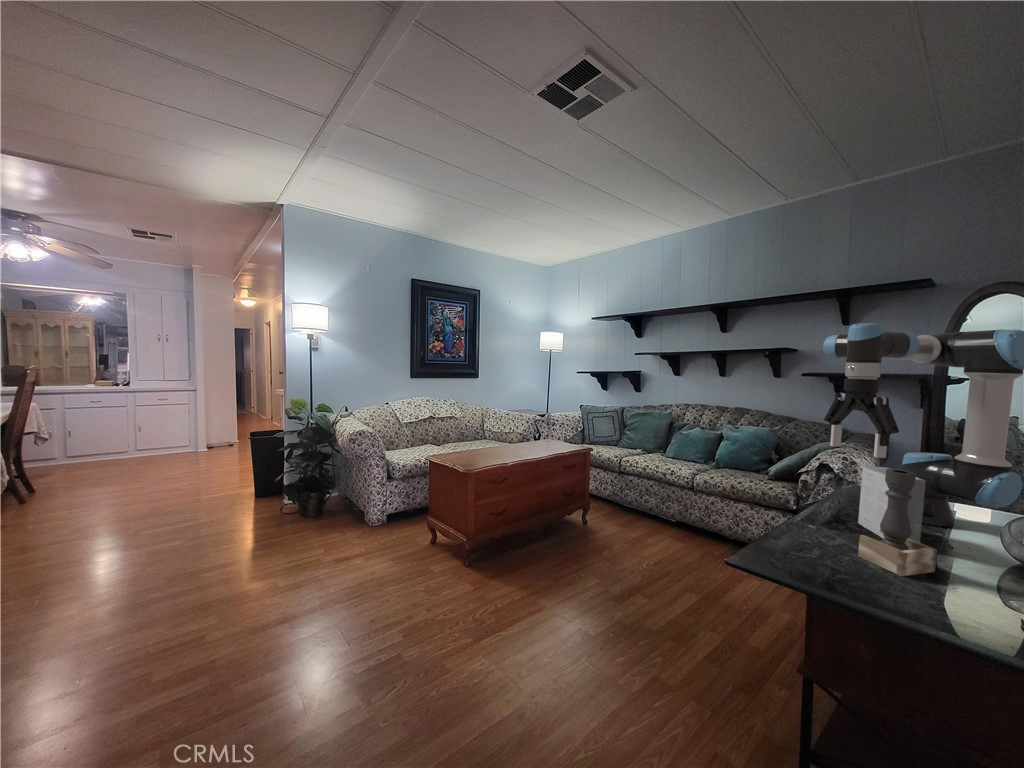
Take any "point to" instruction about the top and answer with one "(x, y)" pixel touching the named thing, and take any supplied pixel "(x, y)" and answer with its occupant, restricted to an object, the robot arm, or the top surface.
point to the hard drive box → (877, 502)
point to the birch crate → (899, 556)
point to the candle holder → (897, 508)
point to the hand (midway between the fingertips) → (856, 451)
